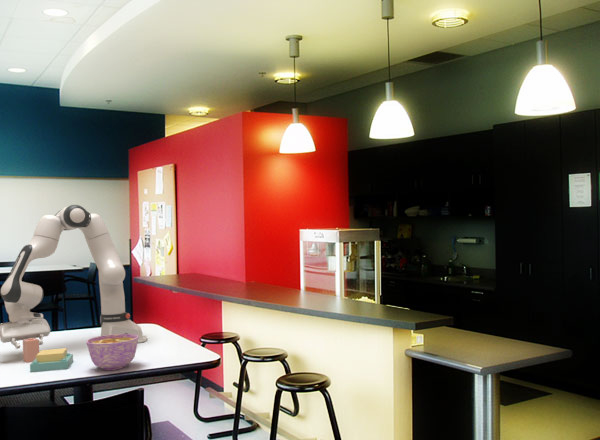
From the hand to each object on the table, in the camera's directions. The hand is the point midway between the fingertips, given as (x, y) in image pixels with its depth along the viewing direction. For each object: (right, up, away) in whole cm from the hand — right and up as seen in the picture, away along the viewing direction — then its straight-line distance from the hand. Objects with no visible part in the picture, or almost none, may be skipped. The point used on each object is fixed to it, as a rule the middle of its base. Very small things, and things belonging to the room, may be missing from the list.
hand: (29, 345), depth 257 cm
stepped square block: (+15, -6, -13) cm, 21 cm away
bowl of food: (+42, -5, -19) cm, 46 cm away
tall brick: (+1, -6, -1) cm, 6 cm away
